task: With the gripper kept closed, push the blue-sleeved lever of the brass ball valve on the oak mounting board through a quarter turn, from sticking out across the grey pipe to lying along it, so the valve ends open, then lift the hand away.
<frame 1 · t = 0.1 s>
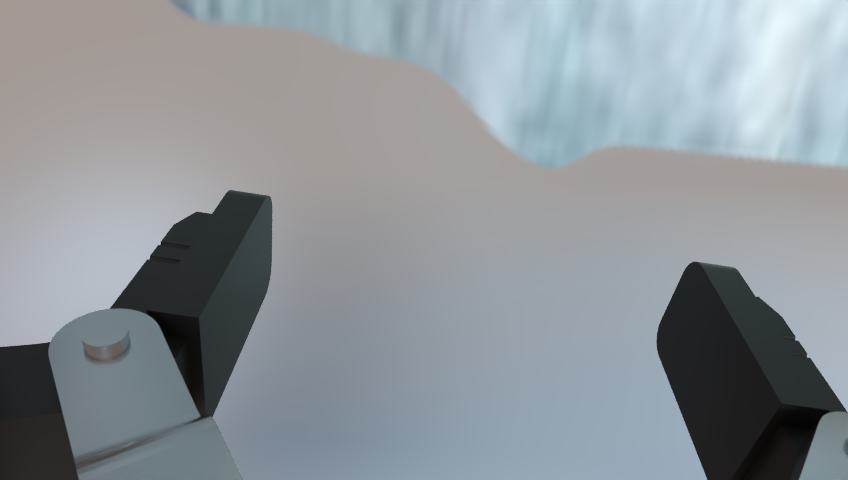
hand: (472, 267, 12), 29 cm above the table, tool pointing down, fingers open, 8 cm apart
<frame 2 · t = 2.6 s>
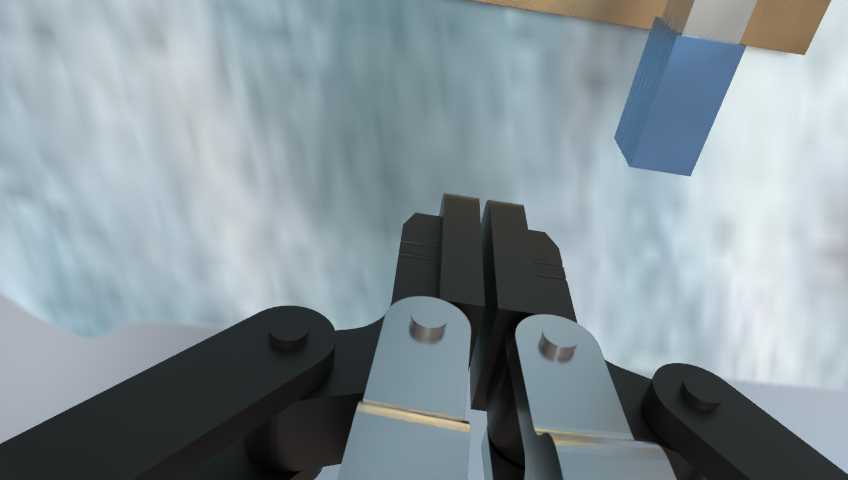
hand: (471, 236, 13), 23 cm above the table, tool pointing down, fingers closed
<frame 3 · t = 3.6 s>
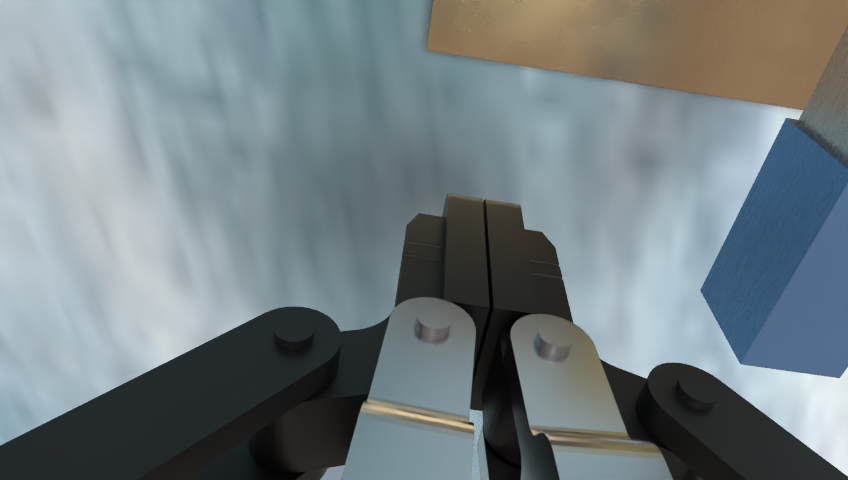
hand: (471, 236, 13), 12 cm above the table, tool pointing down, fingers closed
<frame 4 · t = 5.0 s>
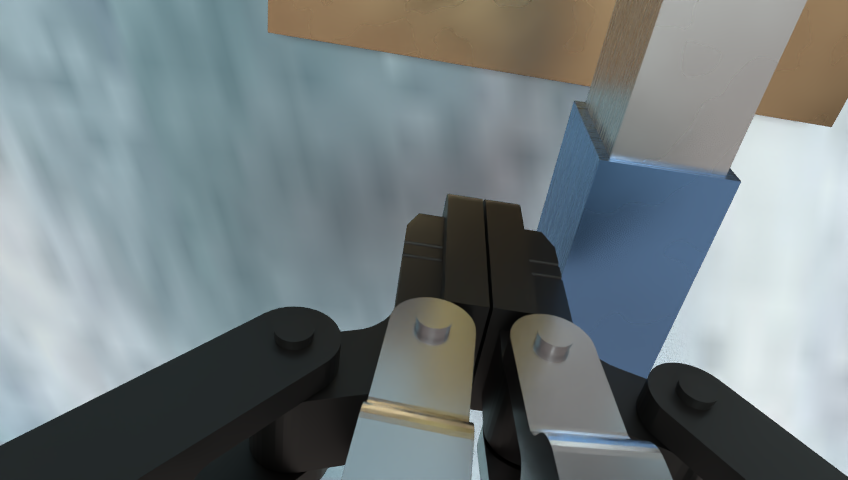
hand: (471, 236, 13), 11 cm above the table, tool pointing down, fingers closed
lever: (676, 62, 11), point 11 cm above the table, hinge at 0.6°, touching gripper
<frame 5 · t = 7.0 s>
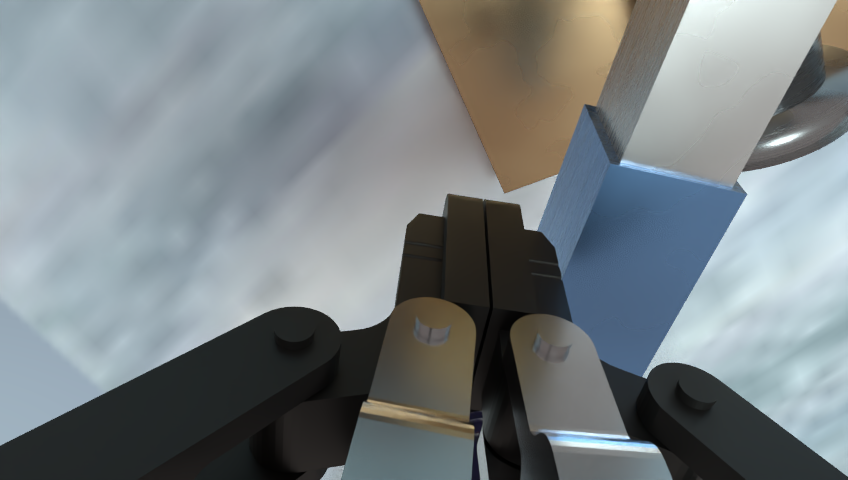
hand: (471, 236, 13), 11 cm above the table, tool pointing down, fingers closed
lever: (691, 72, 11), point 11 cm above the table, hinge at 53.1°, touching gripper
storage jar: (499, 408, 31), on the table
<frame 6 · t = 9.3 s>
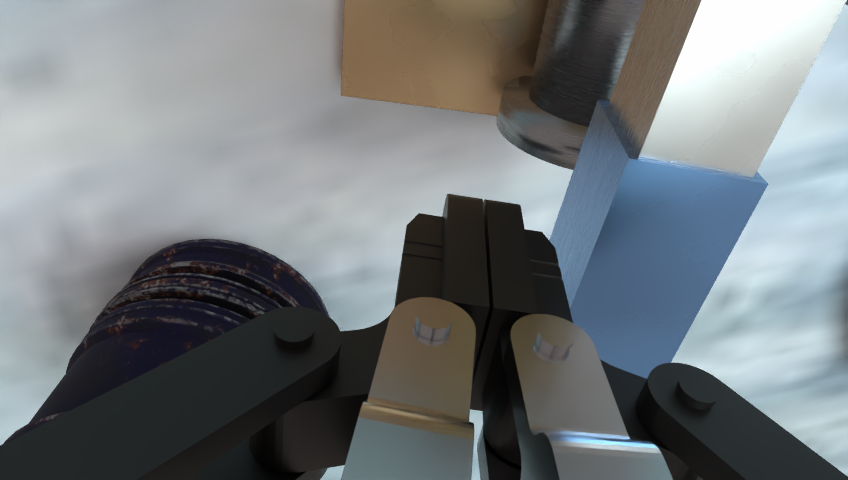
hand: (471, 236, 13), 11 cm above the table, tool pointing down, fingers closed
lever: (706, 63, 11), point 11 cm above the table, hinge at 86.7°
storage jar: (232, 321, 29), on the table
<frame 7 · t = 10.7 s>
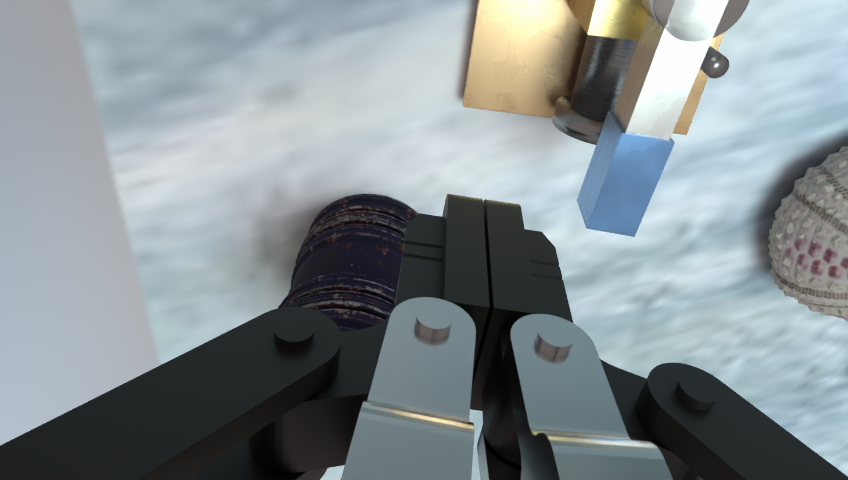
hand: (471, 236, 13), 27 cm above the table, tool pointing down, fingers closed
lever: (651, 96, 27), point 11 cm above the table, hinge at 86.7°
storage jar: (372, 249, 46), on the table
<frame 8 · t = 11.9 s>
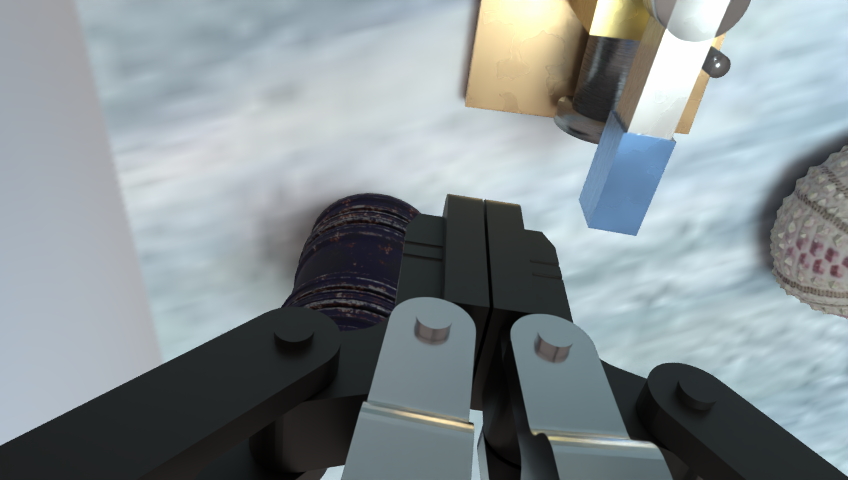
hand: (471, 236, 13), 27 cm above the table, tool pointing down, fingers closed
lever: (653, 96, 27), point 11 cm above the table, hinge at 86.7°
storage jar: (374, 248, 46), on the table
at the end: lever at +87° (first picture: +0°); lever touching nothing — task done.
